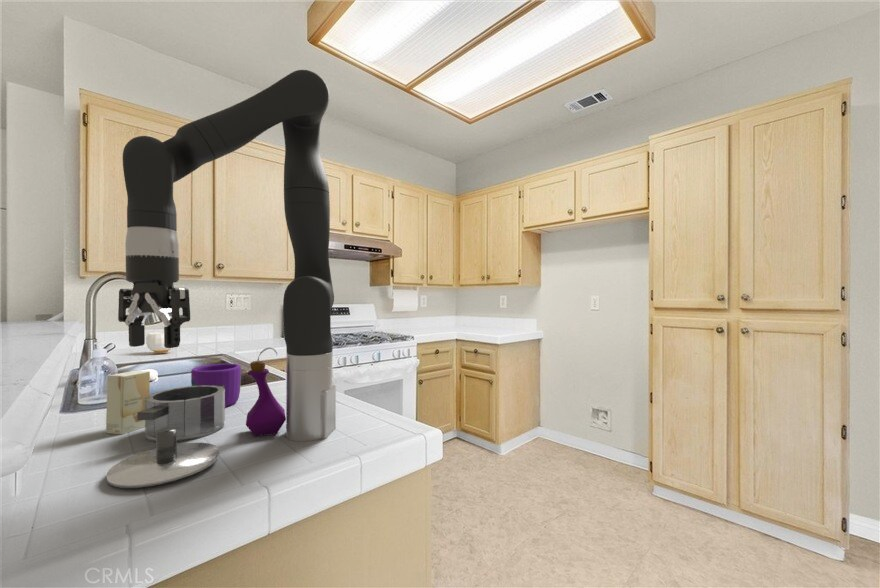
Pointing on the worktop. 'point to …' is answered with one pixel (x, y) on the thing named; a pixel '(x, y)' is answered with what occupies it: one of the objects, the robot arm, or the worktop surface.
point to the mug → (219, 379)
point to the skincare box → (126, 401)
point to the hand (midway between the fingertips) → (154, 346)
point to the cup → (156, 342)
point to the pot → (185, 411)
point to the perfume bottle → (264, 404)
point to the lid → (163, 462)
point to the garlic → (152, 374)
